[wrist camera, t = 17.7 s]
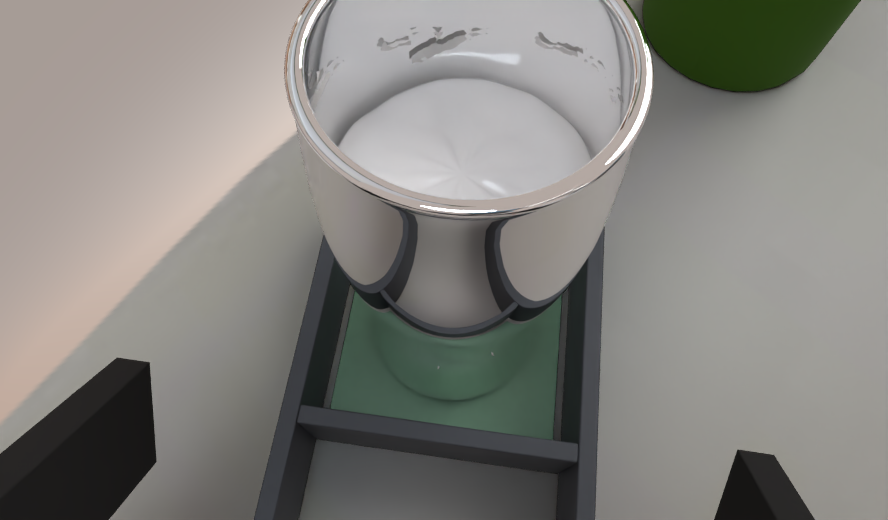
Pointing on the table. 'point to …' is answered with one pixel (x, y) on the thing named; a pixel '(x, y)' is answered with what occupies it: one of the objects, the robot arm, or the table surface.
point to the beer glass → (464, 164)
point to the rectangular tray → (441, 421)
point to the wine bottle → (742, 38)
